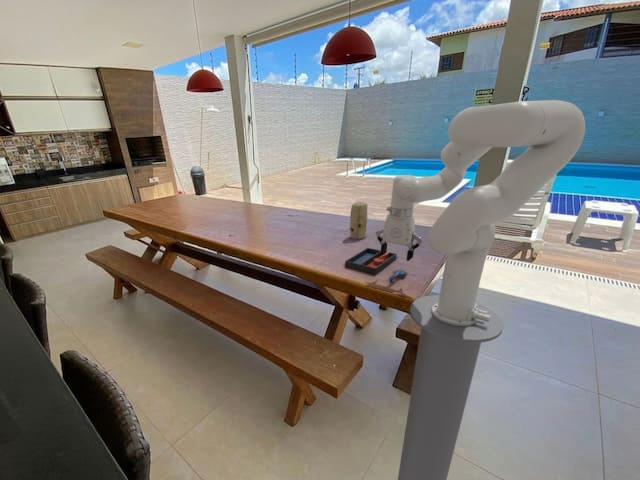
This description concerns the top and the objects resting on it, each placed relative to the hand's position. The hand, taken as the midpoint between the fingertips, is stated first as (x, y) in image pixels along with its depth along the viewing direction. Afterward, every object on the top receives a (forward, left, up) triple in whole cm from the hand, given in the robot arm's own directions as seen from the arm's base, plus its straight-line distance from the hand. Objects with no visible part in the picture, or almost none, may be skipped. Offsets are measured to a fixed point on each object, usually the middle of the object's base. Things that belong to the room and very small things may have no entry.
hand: (396, 256), depth 115 cm
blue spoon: (0, -1, -10) cm, 10 cm away
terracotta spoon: (+11, -14, -9) cm, 20 cm away
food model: (+36, -36, -10) cm, 52 cm away
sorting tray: (+15, -10, -10) cm, 20 cm away
